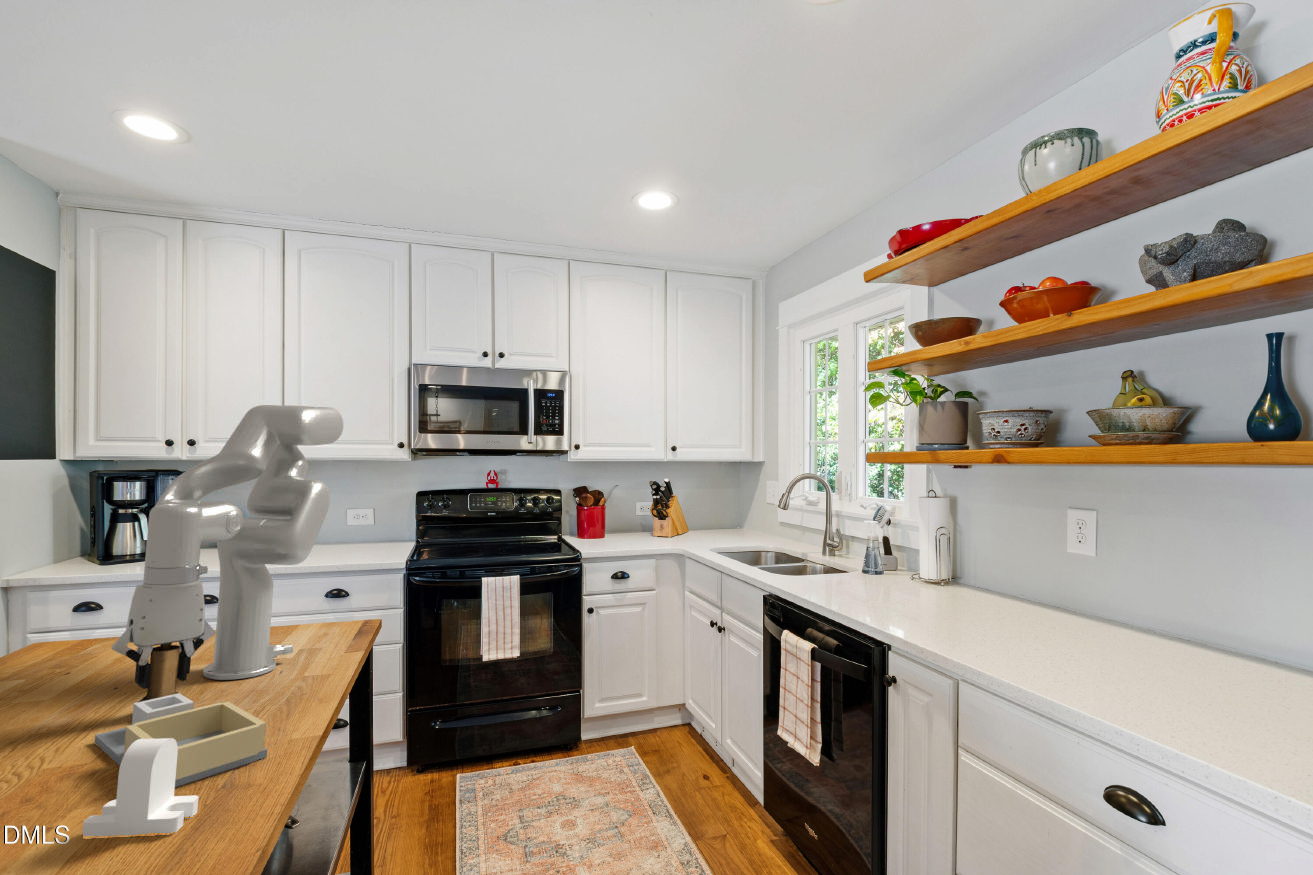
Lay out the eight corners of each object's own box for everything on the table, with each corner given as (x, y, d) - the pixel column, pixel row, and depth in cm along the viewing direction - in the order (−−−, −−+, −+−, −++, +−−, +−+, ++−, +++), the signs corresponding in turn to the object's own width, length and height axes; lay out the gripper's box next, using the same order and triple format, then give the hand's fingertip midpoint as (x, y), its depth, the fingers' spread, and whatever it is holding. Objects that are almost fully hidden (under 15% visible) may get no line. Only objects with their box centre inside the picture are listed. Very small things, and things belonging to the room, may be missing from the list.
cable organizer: (174, 835, 74) (181, 748, 74) (79, 840, 72) (87, 751, 72) (199, 811, 79) (206, 730, 79) (110, 814, 77) (118, 732, 78)
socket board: (201, 715, 107) (203, 684, 107) (268, 758, 93) (271, 722, 93) (94, 742, 95) (97, 708, 96) (152, 796, 82) (156, 755, 82)
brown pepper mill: (192, 710, 109) (201, 606, 110) (152, 723, 103) (161, 613, 104) (166, 704, 111) (175, 601, 112) (125, 717, 105) (135, 608, 106)
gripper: (218, 568, 117) (209, 666, 116) (101, 578, 104) (91, 690, 103) (235, 573, 113) (227, 675, 112) (116, 584, 99) (105, 701, 98)
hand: (162, 681), depth 107 cm, fingers open, 4 cm apart
